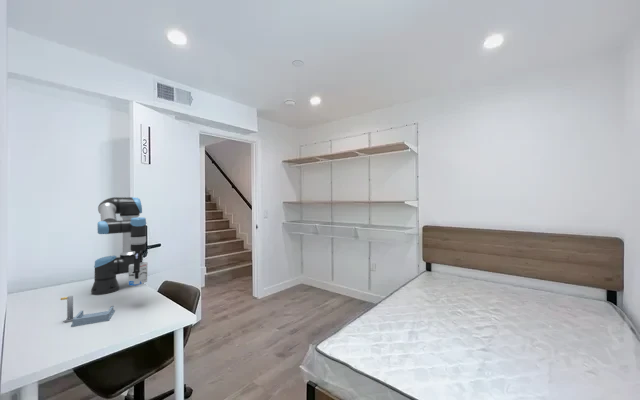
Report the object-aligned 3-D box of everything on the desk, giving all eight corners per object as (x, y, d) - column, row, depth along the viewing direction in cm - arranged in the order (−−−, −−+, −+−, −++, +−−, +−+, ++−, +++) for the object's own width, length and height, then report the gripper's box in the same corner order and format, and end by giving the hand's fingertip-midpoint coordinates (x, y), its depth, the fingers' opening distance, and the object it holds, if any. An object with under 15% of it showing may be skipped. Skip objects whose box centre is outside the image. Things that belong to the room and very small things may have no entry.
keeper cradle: (63, 319, 138) (63, 295, 139) (114, 311, 148) (114, 289, 149) (52, 330, 127) (52, 304, 127) (109, 320, 137) (109, 296, 137)
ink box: (135, 286, 152) (135, 265, 152) (128, 285, 153) (128, 265, 153) (147, 281, 160) (147, 262, 160) (141, 280, 161) (141, 261, 161)
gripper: (133, 241, 165) (133, 277, 165) (127, 247, 145) (127, 288, 145) (148, 240, 168) (147, 275, 168) (143, 246, 149) (143, 286, 149)
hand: (138, 281), depth 157 cm, fingers closed on ink box, 9 cm apart
